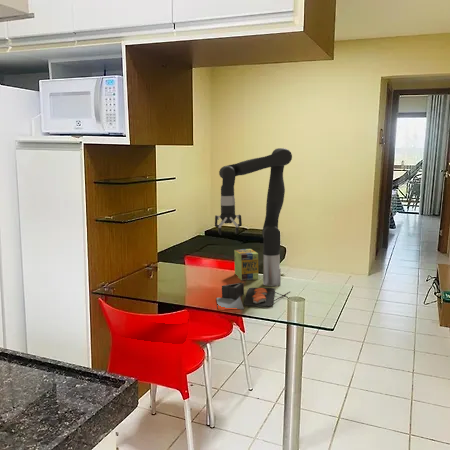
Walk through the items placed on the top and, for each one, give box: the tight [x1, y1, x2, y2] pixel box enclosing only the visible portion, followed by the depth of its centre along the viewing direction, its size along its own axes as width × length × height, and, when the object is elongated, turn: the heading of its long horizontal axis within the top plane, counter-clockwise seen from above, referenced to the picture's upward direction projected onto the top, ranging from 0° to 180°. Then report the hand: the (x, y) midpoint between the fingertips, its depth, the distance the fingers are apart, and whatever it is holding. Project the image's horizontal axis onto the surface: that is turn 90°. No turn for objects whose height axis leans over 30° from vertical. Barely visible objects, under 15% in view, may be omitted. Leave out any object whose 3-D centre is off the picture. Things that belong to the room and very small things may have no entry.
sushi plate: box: [243, 287, 291, 307], centre depth 231 cm, size 29×30×4 cm
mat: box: [215, 296, 245, 310], centre depth 224 cm, size 12×18×1 cm, turn 4°
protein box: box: [233, 248, 259, 282], centre depth 273 cm, size 10×15×16 cm
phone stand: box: [221, 282, 245, 300], centre depth 235 cm, size 9×6×12 cm
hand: (228, 234), depth 245 cm, fingers open, 8 cm apart
